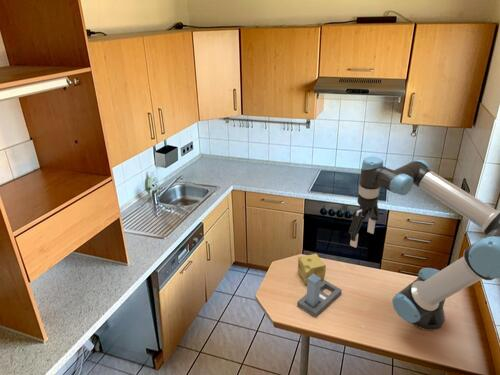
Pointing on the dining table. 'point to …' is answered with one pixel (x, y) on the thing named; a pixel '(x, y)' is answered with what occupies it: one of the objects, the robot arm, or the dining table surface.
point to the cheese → (311, 267)
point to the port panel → (320, 299)
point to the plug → (313, 290)
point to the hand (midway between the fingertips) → (362, 239)
